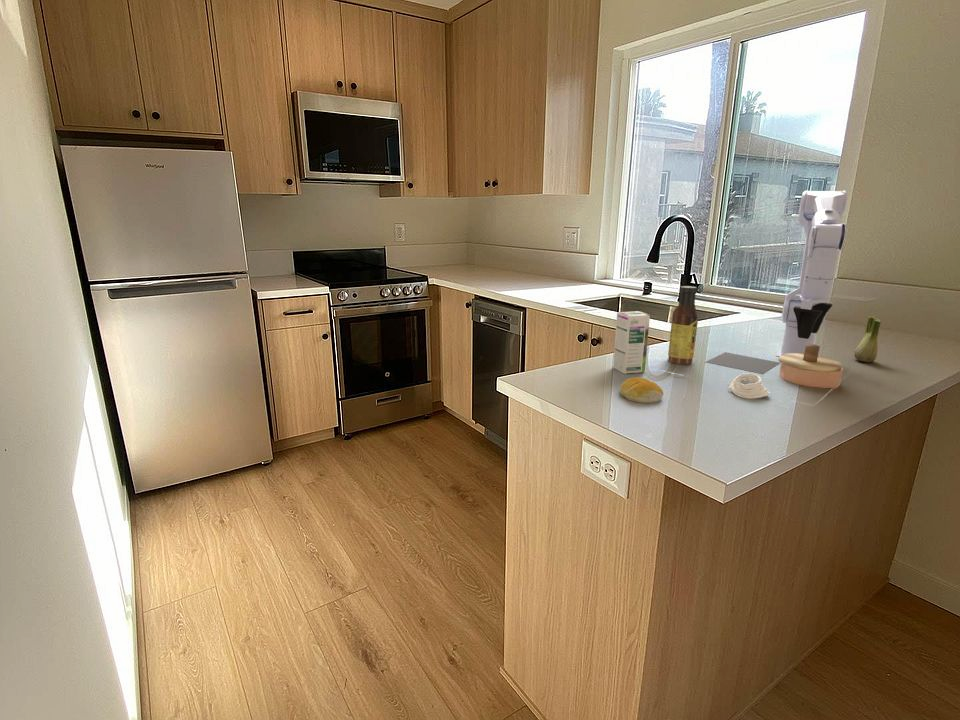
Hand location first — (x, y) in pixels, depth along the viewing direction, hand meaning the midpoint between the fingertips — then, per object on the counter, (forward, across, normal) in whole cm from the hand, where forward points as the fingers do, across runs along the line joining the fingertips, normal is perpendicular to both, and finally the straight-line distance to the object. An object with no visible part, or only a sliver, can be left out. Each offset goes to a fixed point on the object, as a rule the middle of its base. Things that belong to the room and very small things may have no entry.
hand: (807, 335), depth 124 cm
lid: (+6, +2, +2) cm, 7 cm away
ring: (+10, +2, +2) cm, 11 cm away
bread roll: (+10, +41, -20) cm, 47 cm away
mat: (+10, -1, -14) cm, 17 cm away
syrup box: (+10, +26, -32) cm, 42 cm away
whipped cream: (+10, +22, -5) cm, 25 cm away
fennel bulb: (+11, -28, +9) cm, 31 cm away
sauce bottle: (+10, +10, -26) cm, 29 cm away
